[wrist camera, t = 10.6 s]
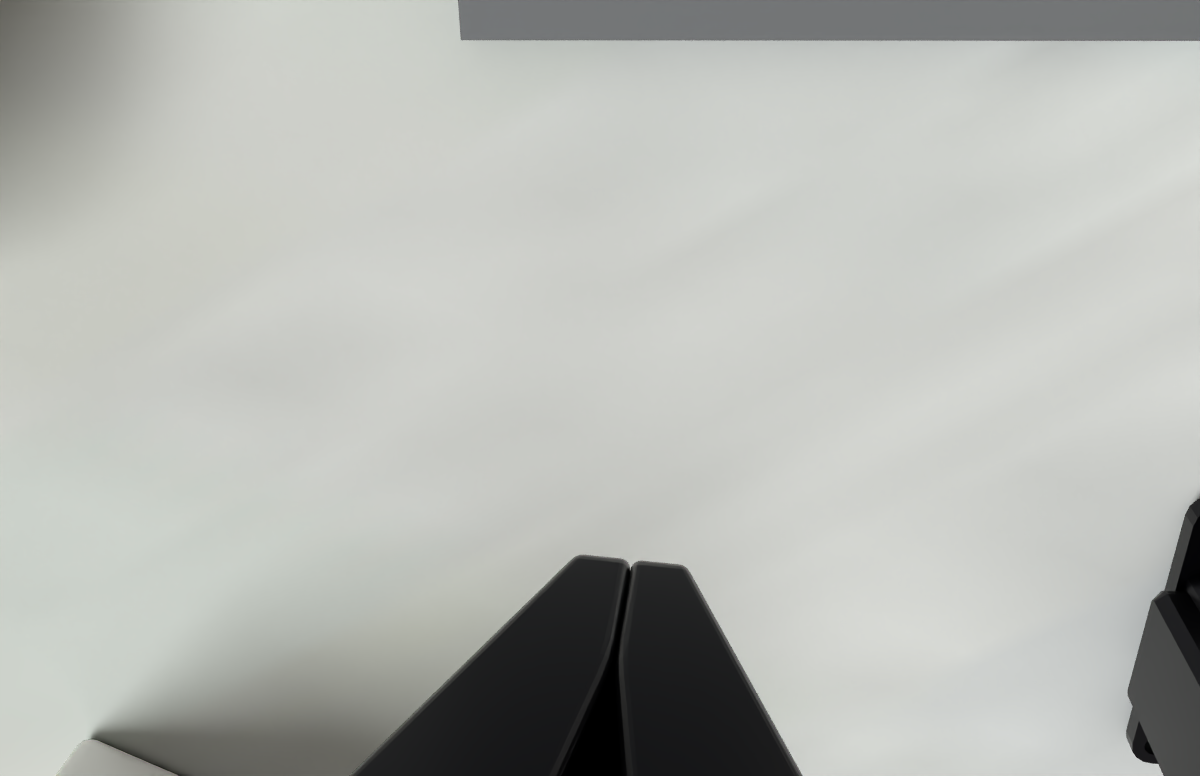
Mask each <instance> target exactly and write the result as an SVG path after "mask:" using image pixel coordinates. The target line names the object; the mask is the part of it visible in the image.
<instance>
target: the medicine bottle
mask: <svg viewBox="0 0 1200 776" xmlns="http://www.w3.org/2000/svg"><path fill="white" fill-rule="evenodd" d="M55 776H179V775H176V774H174V773H172V772H169V771H167V770H165V769H162V768H160V767H158V766H155V765H153V764H151V763H149V762H146V761H144V760H142V759H139V758H137V757H135V756H132V755H130V754H128V753H125V752H123V751H121V750H118V749H116V748H114V747H111V746H109V745H107V744H105V743H102V742H100V741H98V740H84V741H82V742H81V743H80V744H79V745H78V746H77V747H76V748H75V749H74V750H73V752H72V753H71V754H70V756H69V757H68V759H67V760H66V761H65V763H64V764H63V766H62V767H61V768H60V770H59V771H58V773H57V774H56V775H55Z"/></svg>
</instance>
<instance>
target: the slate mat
mask: <svg viewBox="0 0 1200 776" xmlns="http://www.w3.org/2000/svg"><path fill="white" fill-rule="evenodd" d="M458 6H459V20H460V33H461V40H991V41H1200V0H458Z"/></svg>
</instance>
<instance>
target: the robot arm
mask: <svg viewBox="0 0 1200 776" xmlns="http://www.w3.org/2000/svg"><path fill="white" fill-rule="evenodd" d="M1128 697H1129V699H1130V701H1131V704H1132V706H1133V708H1132V711H1131V715H1130V719H1129V722H1128V726H1127V730H1126V737H1127V740H1128V742H1129V744H1130V747H1131V749H1132V751H1133V753H1134V754H1135V756H1136V757H1137V758H1138V759H1140V760H1142V761H1143V762H1148V763H1153V764H1159V766H1160V768H1161V771H1162V773H1163V775H1164V776H1200V498H1199V499H1197V500H1196V501H1195V502H1194V503H1193V504H1192V505H1190V507H1189V509H1188V510H1187V512H1186V514H1185V518H1184V521H1183V525H1182V529H1181V532H1180V536H1179V540H1178V543H1177V547H1176V551H1175V554H1174V558H1173V562H1172V565H1171V569H1170V573H1169V576H1168V580H1167V584H1166V587H1165V591H1161V592H1160V593H1159V594H1158V595H1157V596H1156V597H1155V598H1154V599H1153V600H1152V602H1151V605H1150V609H1149V613H1148V617H1147V620H1146V624H1145V628H1144V631H1143V635H1142V639H1141V643H1140V646H1139V650H1138V654H1137V658H1136V661H1135V665H1134V669H1133V672H1132V676H1131V680H1130V684H1129V687H1128ZM350 776H802V774H801V772H800V770H799V768H798V767H797V765H796V763H795V761H794V759H793V758H792V756H791V754H790V752H789V750H788V749H787V747H786V745H785V743H784V741H783V740H782V738H781V736H780V734H779V732H778V731H777V729H776V727H775V725H774V723H773V721H772V720H771V718H770V716H769V714H768V712H767V711H766V709H765V707H764V705H763V703H762V702H761V700H760V698H759V696H758V694H757V693H756V691H755V689H754V687H753V685H752V684H751V682H750V680H749V678H748V676H747V674H746V673H745V671H744V669H743V667H742V665H741V664H740V662H739V660H738V658H737V656H736V655H735V653H734V651H733V649H732V647H731V646H730V644H729V642H728V640H727V638H726V637H725V635H724V633H723V631H722V629H721V627H720V626H719V624H718V622H717V620H716V618H715V617H714V615H713V613H712V611H711V609H710V608H709V606H708V604H707V602H706V600H705V599H704V597H703V595H702V593H701V591H700V589H699V588H698V586H697V584H696V582H695V580H694V579H693V577H692V575H691V573H690V572H689V570H688V569H687V568H686V567H684V566H683V565H679V564H669V563H659V562H649V561H638V562H636V563H634V564H633V566H632V567H631V570H630V566H629V564H628V562H627V561H626V560H624V559H620V558H610V557H600V556H591V555H578V556H576V557H574V558H573V559H572V560H571V561H570V562H568V563H567V564H566V565H565V566H564V567H563V568H562V569H561V570H560V571H559V572H558V573H557V574H556V575H555V576H554V577H553V578H552V579H551V580H550V581H549V582H548V583H547V584H546V585H545V586H544V587H543V588H542V589H541V590H540V591H539V592H538V593H537V594H536V595H535V596H534V597H533V598H532V599H531V600H529V601H528V602H527V603H526V604H525V605H524V606H523V607H522V608H521V609H520V610H519V611H518V612H517V613H516V614H515V615H514V616H513V617H512V618H511V619H510V620H509V621H508V622H507V623H506V624H505V625H504V626H503V627H502V628H501V629H500V630H499V631H498V632H497V633H496V634H495V635H494V636H493V637H491V638H490V639H489V640H488V641H487V642H486V643H485V644H484V645H483V646H482V647H481V648H480V649H479V650H478V651H477V652H476V653H475V654H474V655H473V656H472V657H471V658H470V659H469V660H468V661H467V662H466V663H465V664H464V665H463V666H462V667H461V668H460V669H459V670H458V671H457V672H456V673H455V674H453V675H452V676H451V677H450V678H449V679H448V680H447V681H446V682H445V683H444V684H443V685H442V686H441V687H440V688H439V689H438V690H437V691H436V692H435V693H434V694H433V695H432V696H431V697H430V698H429V699H428V700H427V701H426V702H425V703H424V704H423V705H422V706H421V707H420V708H419V709H418V710H417V711H415V712H414V713H413V714H412V715H411V716H410V717H409V718H408V719H407V720H406V721H405V722H404V723H403V724H402V725H401V726H400V727H399V728H398V729H397V730H396V731H395V732H394V733H393V734H392V735H391V736H390V737H389V738H388V739H387V740H386V741H385V742H384V743H383V744H382V745H381V746H380V747H379V748H377V749H376V750H375V751H374V752H373V753H372V754H371V755H370V756H369V757H368V758H367V759H366V760H365V761H364V762H363V763H362V764H361V765H360V766H359V767H358V768H357V769H356V770H355V771H354V772H353V773H352V774H351V775H350Z"/></svg>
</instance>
